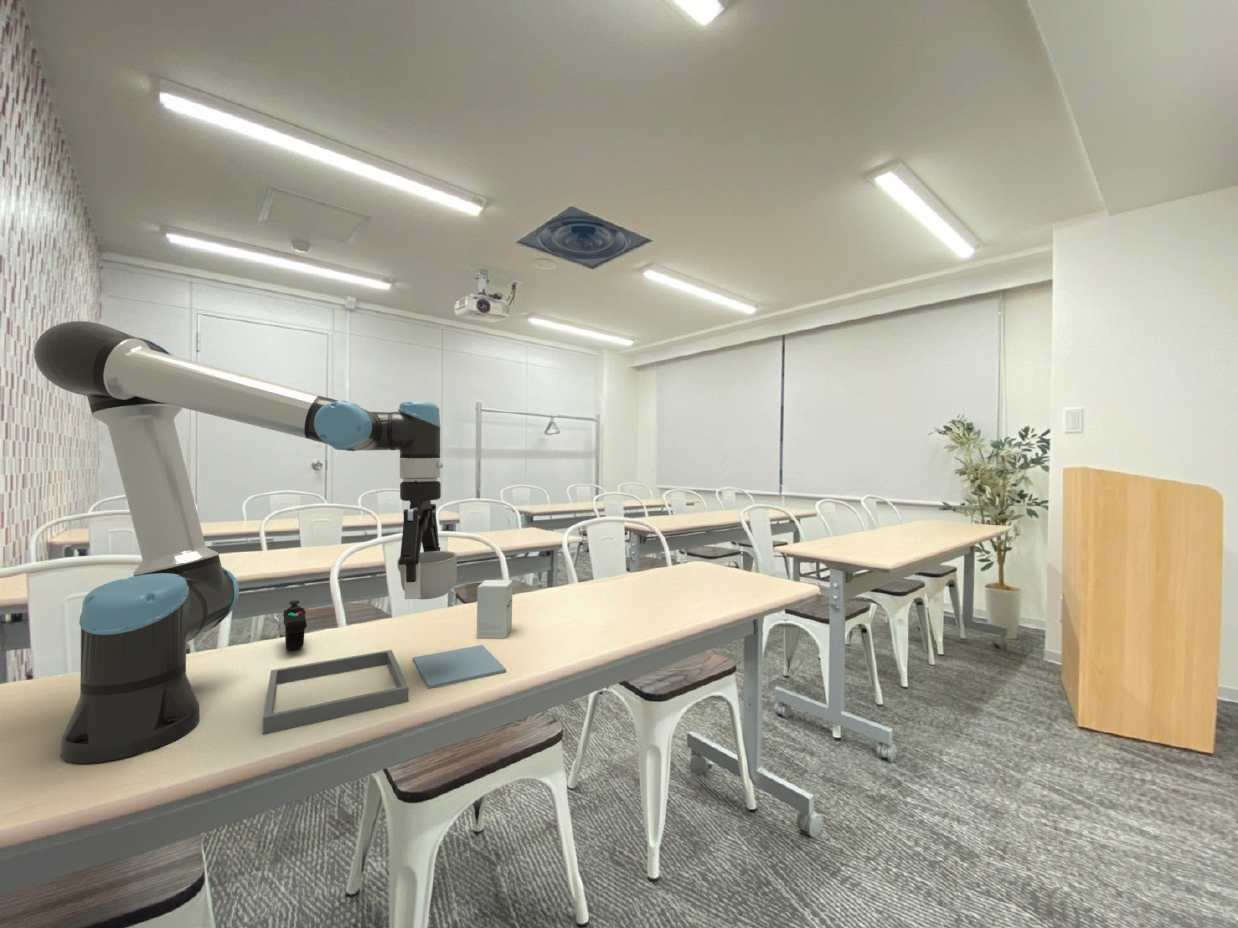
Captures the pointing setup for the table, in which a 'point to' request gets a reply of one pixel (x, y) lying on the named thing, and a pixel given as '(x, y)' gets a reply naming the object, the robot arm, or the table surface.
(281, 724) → the gray rectangular frame
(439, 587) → the teacup
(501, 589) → the supplement box
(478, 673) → the mat
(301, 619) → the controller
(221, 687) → the table surface
